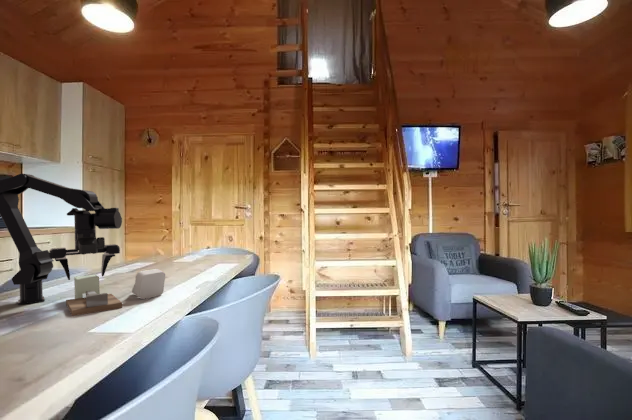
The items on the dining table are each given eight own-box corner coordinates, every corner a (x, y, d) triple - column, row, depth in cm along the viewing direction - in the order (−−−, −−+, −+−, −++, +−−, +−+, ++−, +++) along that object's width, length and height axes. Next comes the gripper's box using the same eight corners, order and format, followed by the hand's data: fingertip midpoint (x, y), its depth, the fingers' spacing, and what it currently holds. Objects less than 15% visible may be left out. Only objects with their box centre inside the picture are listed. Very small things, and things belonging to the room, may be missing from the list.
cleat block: (74, 298, 119) (74, 277, 119) (96, 295, 123) (95, 274, 123) (77, 302, 114) (76, 279, 114) (99, 299, 118) (99, 277, 118)
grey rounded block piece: (145, 289, 128) (148, 261, 126) (162, 300, 122) (165, 271, 121) (122, 294, 121) (125, 265, 120) (138, 305, 115) (141, 275, 114)
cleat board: (66, 305, 111) (65, 290, 111) (111, 298, 118) (110, 284, 118) (72, 316, 98) (71, 299, 98) (122, 307, 106) (121, 292, 106)
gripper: (51, 231, 106) (52, 285, 106) (122, 228, 118) (123, 277, 118) (48, 230, 115) (49, 280, 115) (115, 227, 127) (116, 273, 127)
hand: (86, 278), depth 118 cm, fingers open, 9 cm apart
